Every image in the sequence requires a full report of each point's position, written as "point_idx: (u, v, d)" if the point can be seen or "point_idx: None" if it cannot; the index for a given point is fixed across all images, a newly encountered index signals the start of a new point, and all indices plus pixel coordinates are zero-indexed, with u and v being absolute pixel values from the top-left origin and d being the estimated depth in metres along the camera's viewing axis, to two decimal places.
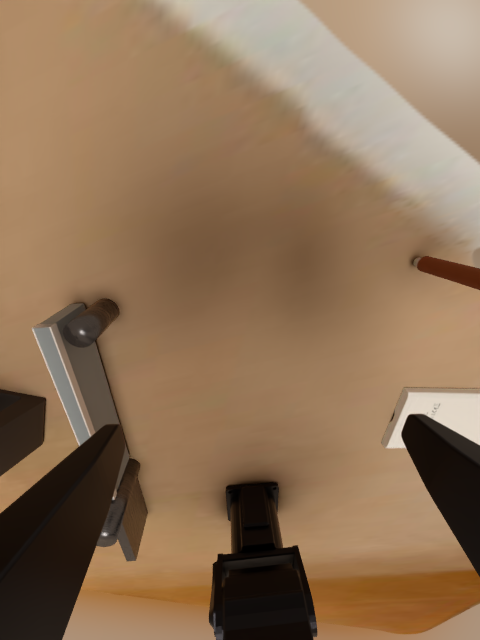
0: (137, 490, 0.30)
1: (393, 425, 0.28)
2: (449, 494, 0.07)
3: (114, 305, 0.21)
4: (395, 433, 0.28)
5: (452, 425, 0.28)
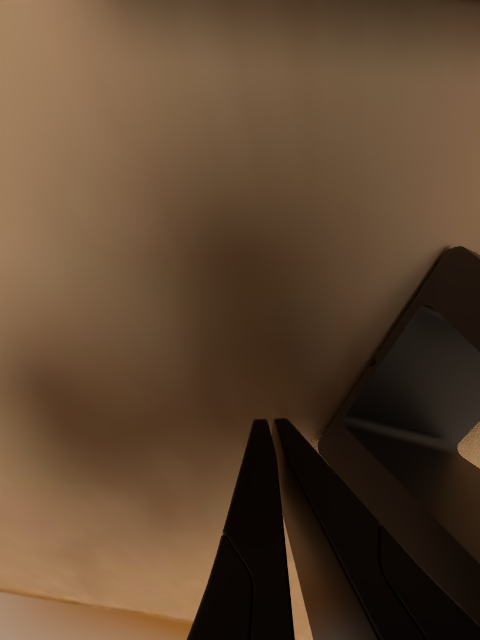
0: None
1: None
2: (287, 503, 0.06)
3: None
4: None
5: None
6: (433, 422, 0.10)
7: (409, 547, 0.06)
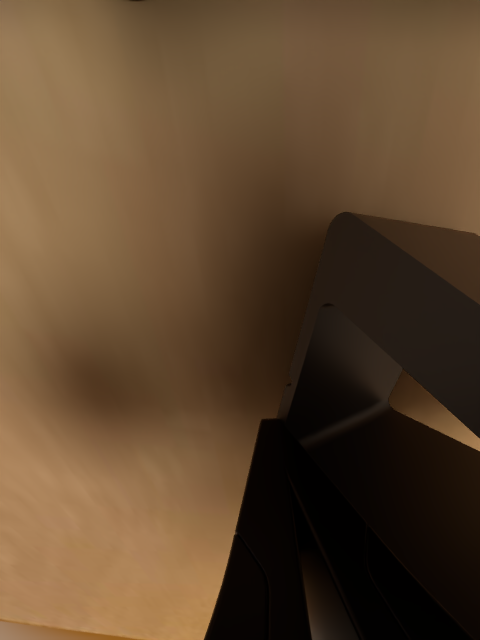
0: None
1: None
2: None
3: None
4: None
5: None
6: (364, 397, 0.10)
7: None
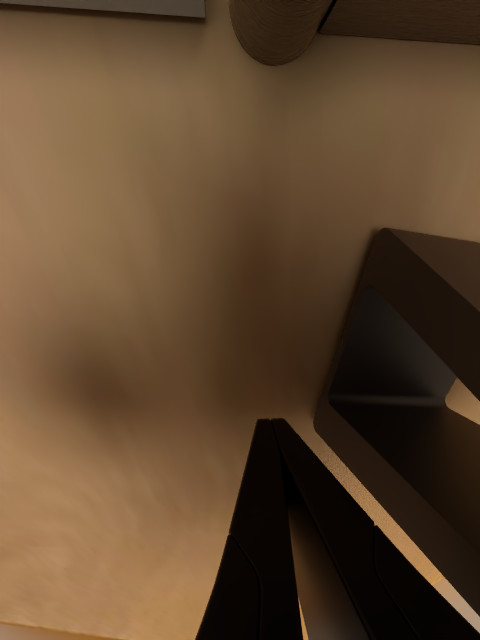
0: None
1: None
2: None
3: None
4: None
5: None
6: (414, 383, 0.11)
7: (381, 496, 0.08)
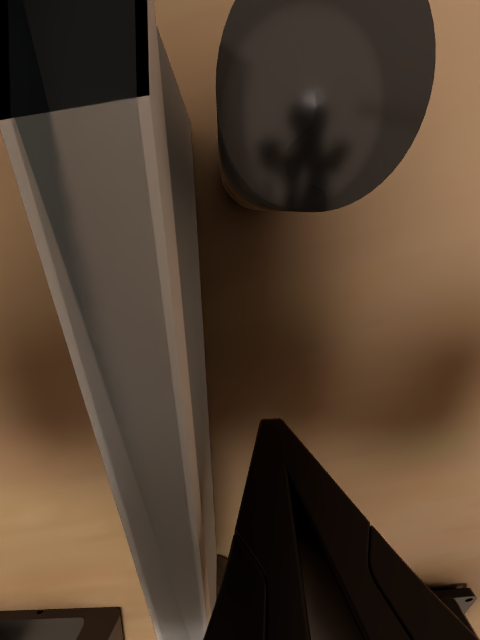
0: None
1: None
2: None
3: None
4: None
5: None
6: None
7: None
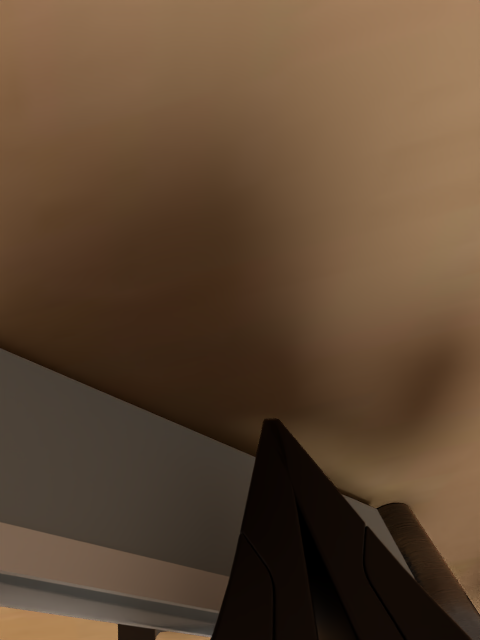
0: None
1: None
2: None
3: None
4: None
5: None
6: None
7: None
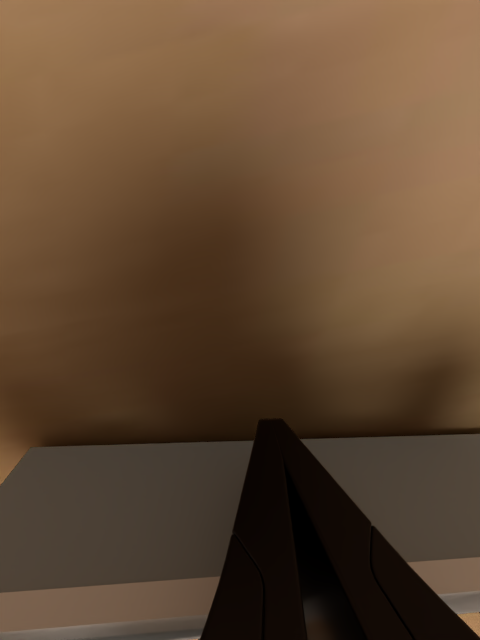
0: None
1: None
2: None
3: None
4: None
5: None
6: None
7: None
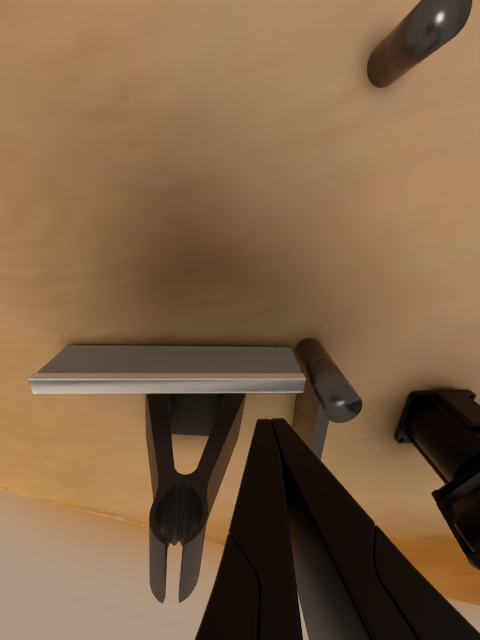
0: None
1: None
2: None
3: None
4: None
5: None
6: (177, 418, 0.24)
7: (153, 418, 0.19)
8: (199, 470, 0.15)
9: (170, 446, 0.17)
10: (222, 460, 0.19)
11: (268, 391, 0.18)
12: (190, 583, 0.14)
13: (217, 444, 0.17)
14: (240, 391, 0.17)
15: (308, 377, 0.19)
